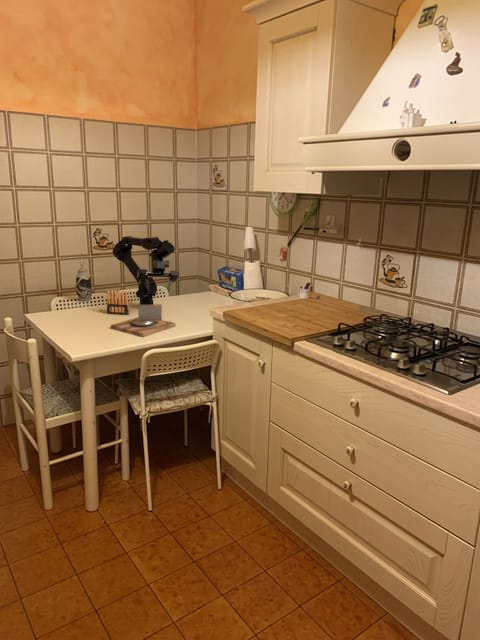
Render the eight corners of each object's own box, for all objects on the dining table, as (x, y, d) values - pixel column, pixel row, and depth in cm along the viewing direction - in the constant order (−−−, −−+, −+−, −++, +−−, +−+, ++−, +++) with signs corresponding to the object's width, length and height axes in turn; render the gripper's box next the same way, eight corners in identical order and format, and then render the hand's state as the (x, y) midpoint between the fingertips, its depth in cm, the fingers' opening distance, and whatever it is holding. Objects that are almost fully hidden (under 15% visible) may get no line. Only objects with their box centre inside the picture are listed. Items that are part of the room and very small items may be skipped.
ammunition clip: (129, 314, 239) (128, 290, 235) (128, 315, 237) (127, 290, 233) (108, 313, 240) (107, 288, 236) (106, 314, 238) (105, 289, 235)
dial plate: (110, 328, 216) (110, 324, 215) (143, 318, 232) (143, 315, 231) (143, 337, 205) (143, 333, 205) (175, 326, 221) (175, 322, 221)
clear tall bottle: (89, 302, 259) (86, 254, 252) (74, 301, 259) (70, 254, 252) (94, 298, 268) (91, 252, 261) (79, 297, 268) (75, 251, 261)
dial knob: (131, 326, 212) (130, 308, 210) (132, 320, 222) (131, 302, 219) (162, 325, 215) (161, 307, 212) (161, 319, 224) (160, 301, 222)
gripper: (139, 252, 225) (140, 283, 220) (179, 254, 231) (181, 284, 225) (136, 263, 235) (137, 293, 229) (175, 265, 241) (177, 294, 235)
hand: (158, 291), depth 230 cm, fingers open, 9 cm apart
